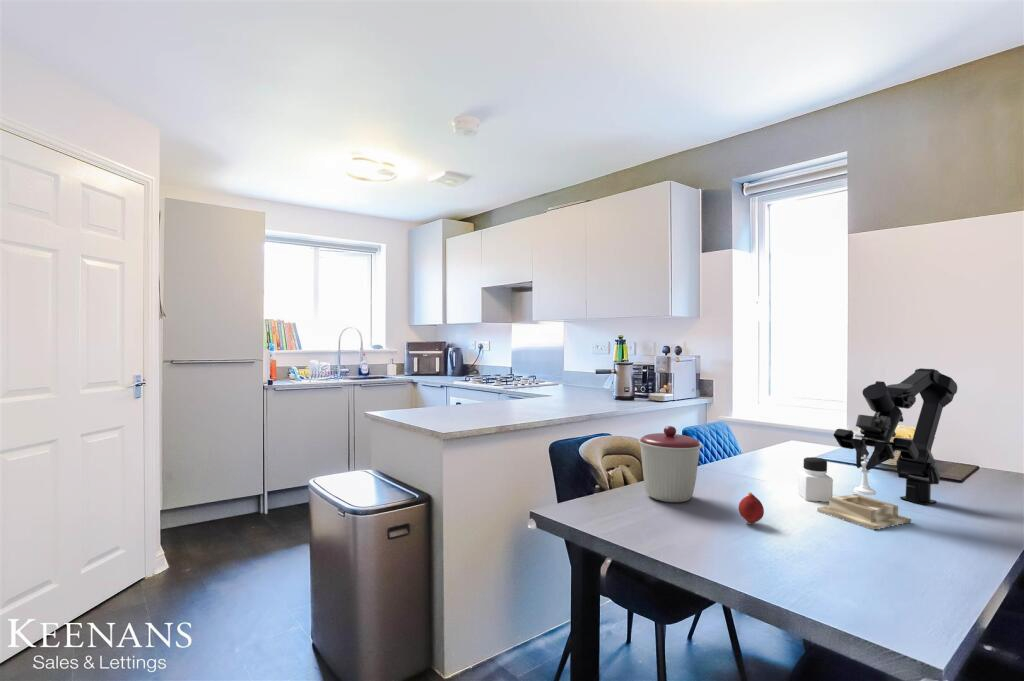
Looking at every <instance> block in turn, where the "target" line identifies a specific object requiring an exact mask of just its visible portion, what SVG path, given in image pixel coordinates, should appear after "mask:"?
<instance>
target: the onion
mask: <svg viewBox="0 0 1024 681" xmlns="http://www.w3.org/2000/svg"><path fill="white" fill-rule="evenodd" d="M747 494H748V495H746V496H745V497H743V498H742V499H741V500H740V502H739V503H738V512H739V514H740V516H741V517H742V518H743V520H745V521H746V522H747V524H749V525H753V524H755V523H757V522H759V521H760V520H762V518H763V517H764V515H765V510H764V509H765V508H764V506H763V504H762V501H760V499H759V498H758V497H757V496H755V495H754V494H753V493H752V492H751V491H749V492H748V493H747Z"/></svg>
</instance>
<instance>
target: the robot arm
mask: <svg viewBox="0 0 1024 681" xmlns="http://www.w3.org/2000/svg"><path fill="white" fill-rule="evenodd" d="M957 392H958V384H957V382H956V381H954V379H953V378H952V377H950V376H948V375H945V374H943V373H941V372H940V371H939V370H938V369H935V368H916V369H915V371H914V372H913V373H912V374H911V375H909V376H908V377H906V378H905V379H904V380H902V381H901V382H899V383H895V384H894V383H893V384H888V385H886V383H885V381H880V380H879V381H875V383H873V384H870V385H868V386H866V387H864V388H863V390H862V395H863V398H864V400H865V401H866V403H867V405H868V406H869V408H870V409H871V411H872V412H875V413H874V414H873V415H866V414H858V415H857V419H856V423H855V427H857V428H859V429H860V431H859V432H860V434H858V433H857V434H856V433H854V431H853V430H852V429H851V430H850V429H845V428H837V429H835V431H834V433H833V437H834V438H835V439H836V440H835V441H836V442H837V443H838V446H840V447H841V448H842V449H848V450H855V455H856V459H855V464H856V468H857V469H861V468H862V465H861V463H860V462H861V461H864V459H861V457H864V455H866V457H868V456H869V455H870V457H869V459H868V461H867V462H868V463H867V465H866V469H867V470H868V471H870V470H872V469H873V468H875V467H877V466H878V465H880V464H882V463H884V462H887V461H889V460H894V459H895V457H896V456H895V454H896V453H897V451H899V456H898V458H897V459H896V468H897V469H896V470H897V476H898V478H900V479H905V495H903V496H900V497H899V498H901V499H900V500H904V499H905V501H907V500H909V501H908V502H911V501H912V503H915V502H916V503H915V504H918V503H919V505H922V504H923V506H926V505H931V504H936V503H937V500H934V499H931V494H932V485H939V484H940V481H941V475H940V473H939V470H938V468H937V467H936V460H935V458H934V455H933V454H932V448H933V444H934V441H935V437H936V434H937V429H938V428H939V427H938V426H939V422H940V420H941V416H942V412H943V409H944V408H945V407H946V406H947V405H949V404H950V403H951V402H953V399H954V397H955V395H956V394H957ZM918 394H919V395H920V397H921V399H922V404H921V410H920V413H919V416H918V418H917V419H918V420H917V422H916V425H915V430H914V433H913V436H912V439H911V438H910V439H909V438H904V437H899V436H897V433H896V432H895V431H896V430H897V426H898V424H899V423H903V422H904V416H903V412H902V410H901V409H907V410H908V409H911V408H913V405H914V404H915V403H916V402H917V398H916V396H917V395H918ZM896 436H897V437H896ZM892 438H893V440H892V441H891V439H892ZM868 447H872V448H874V450H873V451H872V454H870V452H869V451H868V449H867V448H868Z"/></svg>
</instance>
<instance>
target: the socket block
mask: <svg viewBox="0 0 1024 681" xmlns="http://www.w3.org/2000/svg"><path fill="white" fill-rule="evenodd" d="M828 503H829V504H828V505H826V506H819V507H817V508H816V509H817V511H816V512H818V511H820V512H819V513H821V512H823V513H822V514H824V513H826V514H825V515H827V514H829V515H828V516H830V515H832V516H831V517H833V516H835V517H834V518H836V517H838V518H837V519H839V518H841V519H840V520H842V519H844V520H843V521H845V520H847V521H846V522H848V521H850V522H849V523H851V522H853V523H852V524H854V523H856V524H855V525H857V524H859V525H858V526H860V525H862V526H861V527H863V526H865V527H864V528H866V527H868V528H867V529H869V528H871V529H870V530H872V529H878V530H880V529H879V528H883V527H888V526H892V525H897V526H899V525H898V524H902V523H907V522H911V523H912V518H910V517H906V516H903V515H899V505H896V504H893V503H889V502H886V501H883V500H879V499H875V498H872V497H869V496H866V495H863V494H859V493H854V494H846V495H840V496H832V498H829V502H828ZM907 524H908V523H907ZM902 525H903V524H902ZM892 527H893V526H892ZM888 528H889V527H888ZM883 529H884V528H883Z"/></svg>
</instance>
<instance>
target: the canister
mask: <svg viewBox="0 0 1024 681" xmlns="http://www.w3.org/2000/svg"><path fill="white" fill-rule="evenodd" d="M638 443H639V444H640V454H641V455H640V457H641V465H642V476H643V484H644V489H645V492H646V493H647V495H648V496H649V497H650V498H651V499H654V500H657V501H659V502H660V501H661V502H666V503H684V502H687V501H689V500H690V499H691V498H692V497H693V495H694V492H695V487H696V481H697V472H698V466H699V459H700V452H701V448H702V447H703V443H702V442H700V441H698V439H696V438H694V437H692V436H688V435H683V434H679V433H678V434H677V429H676V428H675V427H674V426H672V425H667V426H665V427H664V428H663V432H662V433H661V432H659V433H649V434H645V435H644V436H642V437H640V438H638Z"/></svg>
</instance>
